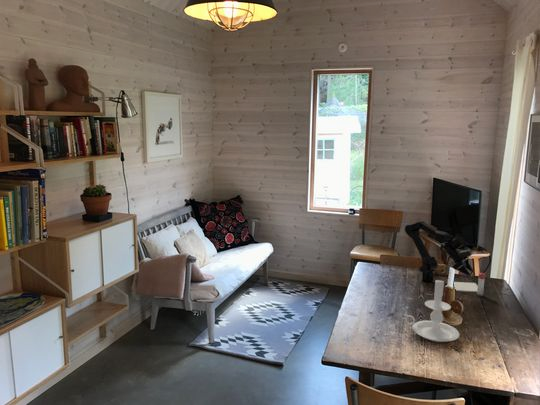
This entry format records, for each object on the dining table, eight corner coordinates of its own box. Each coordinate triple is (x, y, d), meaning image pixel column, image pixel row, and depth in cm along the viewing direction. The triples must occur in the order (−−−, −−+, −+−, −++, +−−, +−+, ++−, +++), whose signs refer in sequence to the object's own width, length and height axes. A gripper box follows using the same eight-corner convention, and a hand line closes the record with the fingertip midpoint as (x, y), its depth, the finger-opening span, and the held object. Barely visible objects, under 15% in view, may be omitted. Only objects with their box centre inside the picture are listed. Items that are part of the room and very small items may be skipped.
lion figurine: (427, 273, 291) (428, 260, 289) (426, 270, 296) (428, 258, 294) (450, 276, 286) (451, 262, 284) (450, 273, 291) (451, 260, 289)
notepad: (453, 291, 260) (453, 290, 260) (447, 282, 275) (447, 281, 275) (483, 292, 258) (483, 291, 258) (475, 283, 272) (475, 282, 272)
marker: (477, 296, 253) (479, 274, 251) (475, 293, 256) (477, 272, 254) (484, 296, 252) (486, 275, 250) (482, 294, 256) (484, 273, 254)
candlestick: (404, 322, 218) (408, 268, 213) (457, 330, 210) (463, 275, 205) (401, 340, 199) (405, 282, 194) (459, 351, 191) (465, 290, 186)
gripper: (460, 247, 247) (480, 270, 243) (466, 240, 263) (484, 261, 259) (445, 258, 253) (463, 280, 249) (451, 251, 268) (469, 271, 264)
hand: (471, 273), depth 255 cm, fingers open, 9 cm apart
